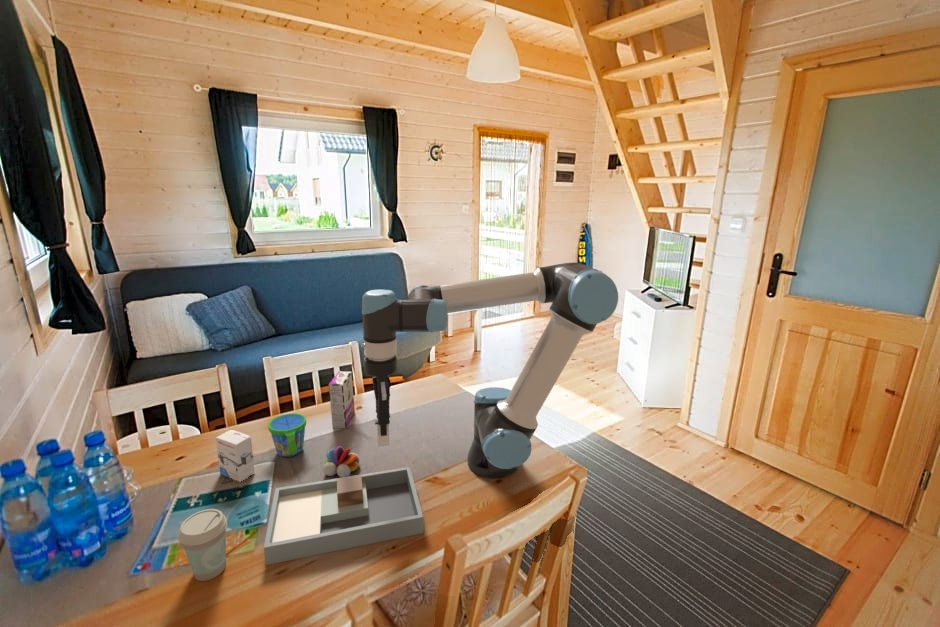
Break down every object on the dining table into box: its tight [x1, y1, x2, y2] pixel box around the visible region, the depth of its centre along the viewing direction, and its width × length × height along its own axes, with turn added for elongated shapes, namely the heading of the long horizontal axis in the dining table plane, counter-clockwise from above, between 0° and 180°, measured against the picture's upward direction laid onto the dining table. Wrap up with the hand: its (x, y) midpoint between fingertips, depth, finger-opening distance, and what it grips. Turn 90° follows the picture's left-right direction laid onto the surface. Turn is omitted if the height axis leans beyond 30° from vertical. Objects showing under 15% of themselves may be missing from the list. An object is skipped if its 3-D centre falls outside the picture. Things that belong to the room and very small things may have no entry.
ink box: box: [215, 429, 255, 483], centre depth 122 cm, size 9×5×12 cm, turn 65°
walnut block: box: [336, 474, 363, 508], centre depth 110 cm, size 6×6×4 cm
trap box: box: [263, 466, 425, 566], centre depth 107 cm, size 34×20×4 cm, turn 106°
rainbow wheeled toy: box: [322, 445, 361, 478], centre depth 125 cm, size 8×10×7 cm
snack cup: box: [267, 412, 307, 458], centre depth 133 cm, size 16×10×10 cm
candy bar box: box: [328, 370, 356, 430], centre depth 150 cm, size 11×5×16 cm, turn 179°
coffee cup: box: [178, 508, 228, 582], centre depth 91 cm, size 8×8×12 cm
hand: (383, 444), depth 110 cm, fingers closed
